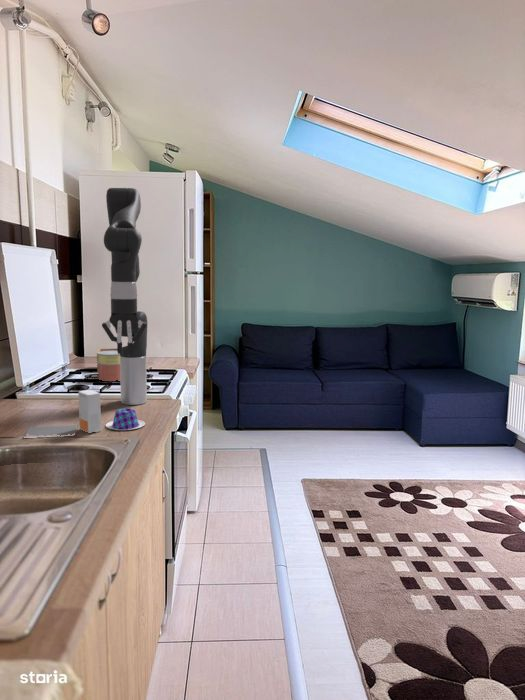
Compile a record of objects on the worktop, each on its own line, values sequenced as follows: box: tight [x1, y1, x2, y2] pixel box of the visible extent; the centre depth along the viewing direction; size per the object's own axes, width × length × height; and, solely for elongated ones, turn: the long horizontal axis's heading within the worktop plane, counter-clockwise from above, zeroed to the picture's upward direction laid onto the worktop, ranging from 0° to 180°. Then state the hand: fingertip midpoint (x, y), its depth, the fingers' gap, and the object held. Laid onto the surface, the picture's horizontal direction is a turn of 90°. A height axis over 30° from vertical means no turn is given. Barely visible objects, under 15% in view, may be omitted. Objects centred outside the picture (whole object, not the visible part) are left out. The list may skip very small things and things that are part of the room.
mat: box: [24, 424, 79, 436], centre depth 163 cm, size 10×14×1 cm
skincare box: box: [78, 389, 102, 434], centre depth 165 cm, size 6×4×12 cm
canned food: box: [97, 350, 120, 381], centre depth 237 cm, size 11×11×12 cm
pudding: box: [105, 408, 146, 431], centre depth 171 cm, size 12×12×5 cm
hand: (124, 354), depth 164 cm, fingers closed
